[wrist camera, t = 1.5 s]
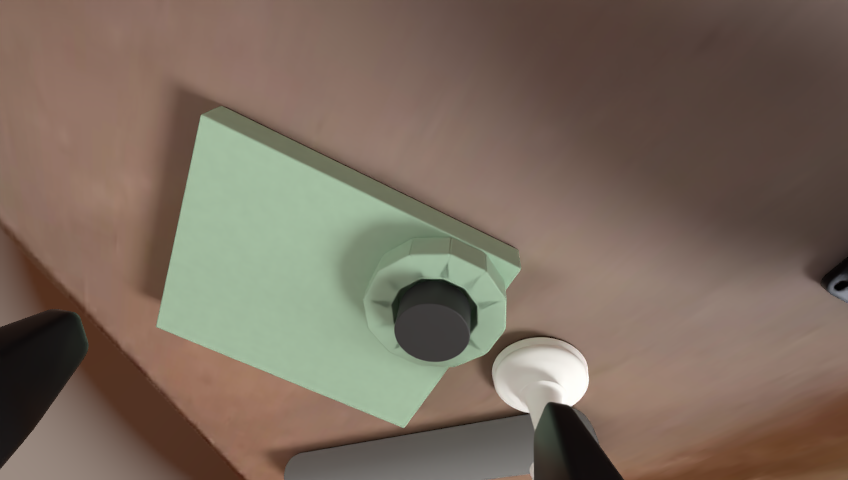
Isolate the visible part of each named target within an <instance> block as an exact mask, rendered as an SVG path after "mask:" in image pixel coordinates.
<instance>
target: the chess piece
mask: <svg viewBox="0 0 848 480" xmlns="http://www.w3.org/2000/svg"><path fill="white" fill-rule="evenodd" d="M492 377H493V381H494V386H495V389H496V391H497V393H498V395H499V396H500V398H501V399H502V400H503V401H504V402H505V403H507V404H508V405H510V406H511V407H513V408H515V409H517V410H520V411H523V412H527V413H530V416H531V419H532V423H533V426H534V430H535V429H536V427H537V424H538V422H539V419H540V417H541V415H542V412H543V410H544V407H545V405H546V404H547V403H548V402H555V403H561V404H566V405H569V406H570V407H571V406H572V405H574V404H575V403H577V402H578V401H579V400H580V399H581V398H582V396H583V395H584V394H585V392H586V390H587V387H588V383H589V376H588V366H587V363H586V360H585V358H584V357H583V355H582V354H581V353H580V352H579V351H578V350H577V349H576V348H575V347H573V346H572V345H570V344H568V343H566V342H564V341H561V340H558V339H553V338H546V337H535V338H528V339H524V340H521V341H518V342H515V343H513V344H511V345H510V346H508V347H506V348H505V349H504V350H503V351H502V352H501V353H500V354H499V355H498V356H497V358H496V359H495V361H494V364H493V367H492ZM530 475H531V477H532V479H533V480H534V462H533V463H532V465H531V466H530Z"/></svg>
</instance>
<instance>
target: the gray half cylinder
mask: <svg viewBox="0 0 848 480" xmlns="http://www.w3.org/2000/svg"><path fill="white" fill-rule="evenodd" d="M573 410H574V411H575V412H576V414H577V415H578V416H579V418H580V419H581V421H582V422H583V423H584V425H585V426H586V428H587V429H588V430H589V432H590V433H591V435H592V436H593V437H594V439H595V440H596V442H597V443H598V444H599V442H598V439H597V436H596V434H595V431H594V429H593V427H592V425H591V423H590V422H589V420H588V419H587V417H586V416H585V415H584V414H583V413H581V412H580V411H578V410H576V409H573ZM534 433H535V430H534V426H533V423H532V419H531V416H530V414H527V415H521V416H515V417H509V418H503V419H497V420H491V421H486V422H480V423H474V424H468V425H462V426H456V427H451V428H445V429H439V430H433V431H427V432H421V433H416V434H410V435H404V436H398V437H392V438H386V439H381V440H375V441H369V442H363V443H357V444H351V445H346V446H340V447H334V448H328V449H322V450H316V451H311V452H305V453H299V454H297V455H295V456H294V457H292V458H291V459H290V460H289V462H288V463H287V465H286V468H285V473H284V480H488V479H495V478H503V477H510V476H517V475H525V474H530V466H531V465H532V463H533V462H534ZM599 446H600V445H599Z"/></svg>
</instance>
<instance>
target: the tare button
mask: <svg viewBox="0 0 848 480" xmlns="http://www.w3.org/2000/svg"><path fill="white" fill-rule="evenodd" d="M470 316H471V310H470V305H469V302H468V300H467V298H466V297H465V295H464V294H463V293H462V292H461V291H460V290H459V289H457V288H456V287H454V286H452V285H450V284H448V283H444V282H440V281H426V282H421V283H418V284H416V285H414V286H412V287H411V288H410V289H408V290H407V291H406V292H405V294H404V295H403V297H402V299H401V302H400V305H399V309H398V314H397V318H396V322H395V326H394V333H395V337H396V340H397V342H398V344H399V345H400V347H401V348H402V349H403V350H404V351H405V352H406V353H408V354H409V355H411V356H413V357H415V358H417V359H420V360H423V361H428V362H442V361H447V360H450V359H453V358H455V357H456V356H458V355H460V354H461V353H462V352H463V351H464V350H465V348H466V347H467V345H468V343H469V340H470Z"/></svg>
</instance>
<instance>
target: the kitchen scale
mask: <svg viewBox="0 0 848 480" xmlns="http://www.w3.org/2000/svg"><path fill="white" fill-rule="evenodd" d="M520 270H521V264H520V258H519V252H518V250H517V249H515V248H513V247H511V246H509V245H507V244H505V243H503V242H501V241H499V240H497V239H495V238H492V237H490V236H488V235H486V234H484V233H482V232H480V231H478V230H476V229H474V228H472V227H470V226H468V225H466V224H464V223H462V222H460V221H458V220H455V219H453V218H451V217H449V216H447V215H445V214H443V213H441V212H439V211H437V210H435V209H433V208H431V207H429V206H427V205H425V204H423V203H421V202H418V201H416V200H414V199H412V198H410V197H408V196H406V195H404V194H402V193H400V192H398V191H396V190H394V189H392V188H390V187H388V186H386V185H384V184H381V183H379V182H377V181H375V180H373V179H371V178H369V177H367V176H365V175H363V174H361V173H359V172H357V171H355V170H353V169H351V168H349V167H347V166H344V165H342V164H340V163H338V162H336V161H334V160H332V159H330V158H328V157H326V156H324V155H322V154H320V153H318V152H316V151H314V150H312V149H310V148H307V147H305V146H303V145H301V144H299V143H297V142H295V141H293V140H291V139H289V138H287V137H285V136H283V135H281V134H279V133H277V132H275V131H273V130H270V129H268V128H266V127H264V126H262V125H260V124H258V123H256V122H254V121H252V120H250V119H248V118H246V117H244V116H242V115H240V114H238V113H236V112H233V111H231V110H229V109H227V108H225V107H223V106H220V107H217V108H215V109H213V110H211V111H208V112H206V113H204V114H202V115H201V116H200V121H199V126H198V130H197V135H196V140H195V145H194V149H193V154H192V159H191V164H190V168H189V173H188V178H187V183H186V187H185V192H184V197H183V202H182V206H181V211H180V216H179V221H178V225H177V230H176V235H175V239H174V244H173V249H172V254H171V258H170V263H169V268H168V273H167V277H166V282H165V287H164V292H163V296H162V301H161V306H160V311H159V315H158V320H157V325H156V327H157V328H160V329H162V330H165V331H167V332H170V333H172V334H175V335H177V336H179V337H182V338H184V339H187V340H189V341H192V342H194V343H197V344H199V345H201V346H204V347H206V348H209V349H211V350H214V351H216V352H219V353H221V354H224V355H226V356H228V357H231V358H233V359H236V360H238V361H241V362H243V363H246V364H248V365H250V366H253V367H255V368H258V369H260V370H263V371H265V372H268V373H270V374H273V375H275V376H277V377H280V378H282V379H285V380H287V381H290V382H292V383H295V384H297V385H299V386H302V387H304V388H307V389H309V390H312V391H314V392H317V393H319V394H322V395H324V396H326V397H329V398H331V399H334V400H336V401H339V402H341V403H344V404H346V405H348V406H351V407H353V408H356V409H358V410H361V411H363V412H366V413H368V414H371V415H373V416H375V417H378V418H380V419H383V420H385V421H388V422H390V423H393V424H395V425H397V426H400V427H402V428H404V427H405V426H406V425H407V423H408V422H409V421H410V419H411V418H412V417H413V415H414V414H415V413H416V411H417V410H418V408H419V407H420V406H421V404H422V403H423V402H424V400H425V399H426V398H427V396H428V395H429V394H430V392H431V391H432V389H433V388H434V387H435V385H436V384H437V383H438V381H439V380H440V379H441V377H442V376H443V374H444V373H445V372H446V370H447V369H448V368H449V367H455V366H458V365H461V364H463V363H466V362H468V361H470V360H473V359H475V358H478V357H480V356H483V355H485V354H486V353H488V351H489V350H490V349H491V348H492V346H493V345H494V344H495V342H496V341H497V340H498V339H499V337H500V336H501V335H502V334H503V332H504V331H505V328H506V291H505V290H506V289H507V288H508V286H509V285H510V283H511V282H512V281H513V279H514V278H515V277H516V275H517V274H518V273H519V271H520ZM426 281H440V282H444V283H448V284H450V285H452V286H454V287H456V288H457V289H459V290H460V291H461V292H462V293H463V294H464V295H465V297H466V298H467V300H468V302H469V305H470V310H471V316H470V340H469V343H468V345H467V347H466V348H465V350H464V351H463V352H462V353H461V354H460V355H458V356H456V357H455V358H453V359H450V360H447V361H442V362H428V361H423V360H420V359H417V358H415V357H413V356H411V355H409V354H408V353H406V352H405V351H404V350H403V349H402V348H401V347H400V345H399V344H398V342H397V340H396V337H395V333H394V326H395V322H396V318H397V314H398V309H399V305H400V302H401V299H402V297H403V295H404V294H405V292H406V291H407V290H408V289H410V288H411V287H412V286H414V285H416V284H418V283H421V282H426Z"/></svg>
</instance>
